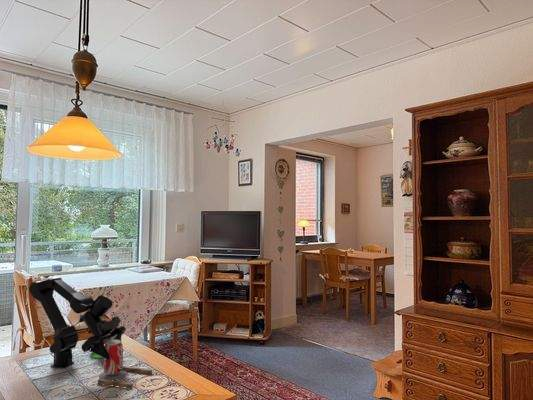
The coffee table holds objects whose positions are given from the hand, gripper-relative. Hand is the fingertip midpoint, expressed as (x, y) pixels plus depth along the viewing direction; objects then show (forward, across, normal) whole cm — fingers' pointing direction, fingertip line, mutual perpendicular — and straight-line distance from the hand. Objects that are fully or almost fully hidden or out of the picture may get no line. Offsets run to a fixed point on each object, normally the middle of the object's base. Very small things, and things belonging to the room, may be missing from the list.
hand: (116, 355), depth 149 cm
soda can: (+4, 0, +6) cm, 7 cm away
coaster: (+5, 0, +6) cm, 8 cm away
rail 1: (+10, -7, +1) cm, 12 cm away
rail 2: (+9, +6, +2) cm, 11 cm away
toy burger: (-9, +17, +21) cm, 29 cm away
